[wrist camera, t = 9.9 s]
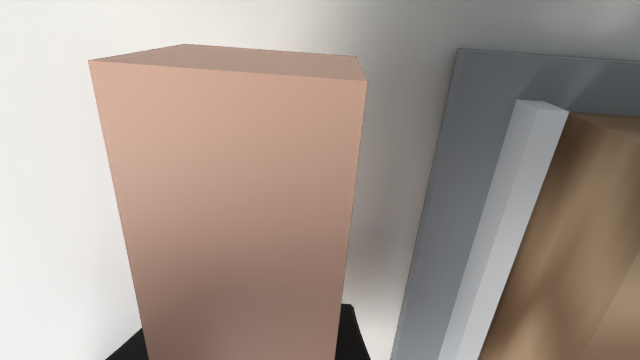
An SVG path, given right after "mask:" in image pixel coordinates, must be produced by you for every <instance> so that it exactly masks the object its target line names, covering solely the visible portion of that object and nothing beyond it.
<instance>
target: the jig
mask: <svg viewBox="0 0 640 360" xmlns="http://www.w3.org/2000/svg"><path fill="white" fill-rule="evenodd" d="M569 111H571V112H585V113H598V114H612V115H626V116H639V117H640V62H635V61H621V60H607V59H594V58H580V57H566V56H552V55H538V54H524V53H510V52H497V51H483V50H469V49H458V50H457V55H456V59H455V64H454V69H453V73H452V78H451V82H450V87H449V92H448V96H447V101H446V105H445V110H444V115H443V119H442V124H441V128H440V133H439V138H438V142H437V147H436V151H435V156H434V161H433V165H432V170H431V174H430V179H429V184H428V188H427V193H426V197H425V202H424V207H423V211H422V216H421V220H420V225H419V230H418V234H417V239H416V243H415V248H414V253H413V257H412V262H411V266H410V271H409V276H408V280H407V285H406V289H405V294H404V299H403V303H402V308H401V312H400V317H399V321H398V326H397V331H396V335H395V340H394V344H393V349H392V354H391V358H390V360H477V359H478V357H479V354H480V351H481V348H482V346H483V343H484V340H485V338H486V335H487V332H488V330H489V327H490V324H491V321H492V319H493V316H494V313H495V311H496V308H497V305H498V303H499V300H500V297H501V295H502V292H503V289H504V286H505V284H506V281H507V278H508V276H509V273H510V270H511V268H512V265H513V262H514V259H515V257H516V254H517V251H518V249H519V246H520V243H521V241H522V238H523V235H524V233H525V230H526V227H527V224H528V222H529V219H530V216H531V214H532V211H533V208H534V206H535V203H536V200H537V198H538V195H539V192H540V189H541V187H542V184H543V181H544V179H545V176H546V173H547V171H548V168H549V165H550V162H551V160H552V157H553V154H554V152H555V149H556V146H557V144H558V141H559V138H560V136H561V133H562V130H563V127H564V125H565V122H566V119H567V117H568V114H569Z"/></svg>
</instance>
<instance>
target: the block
mask: <svg viewBox="0 0 640 360" xmlns="http://www.w3.org/2000/svg"><path fill="white" fill-rule="evenodd" d="M88 63H89V68H90V73H91V78H92V82H93V87H94V92H95V97H96V102H97V107H98V112H99V117H100V122H101V127H102V132H103V136H104V141H105V146H106V151H107V156H108V161H109V166H110V171H111V176H112V181H113V185H114V190H115V195H116V200H117V205H118V210H119V215H120V220H121V225H122V230H123V235H124V239H125V244H126V249H127V254H128V259H129V264H130V269H131V274H132V279H133V284H134V289H135V293H136V298H137V303H138V308H139V313H140V318H141V323H142V328H143V333H144V338H145V342H146V347H147V352H148V357H149V360H335V351H336V343H337V335H338V326H339V318H340V309H341V301H342V293H343V284H344V276H345V268H346V259H347V251H348V242H349V234H350V226H351V217H352V209H353V200H354V192H355V184H356V175H357V167H358V159H359V150H360V142H361V133H362V125H363V117H364V108H365V100H366V92H367V83H368V81H367V79H366V77H365V74H364V72H363V70H362V68H361V66H360V64H359V61H358V59H357V57H356V56H343V55H330V54H316V53H303V52H289V51H275V50H262V49H248V48H234V47H221V46H207V45H193V44H181V45H176V46H170V47H164V48H158V49H152V50H146V51H141V52H135V53H129V54H123V55H117V56H111V57H106V58H100V59H94V60H88Z"/></svg>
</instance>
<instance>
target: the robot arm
mask: <svg viewBox="0 0 640 360" xmlns="http://www.w3.org/2000/svg"><path fill="white" fill-rule="evenodd" d="M106 360H149V357H148V352H147V347H146V342H145V338H144V333H143V328H141V329H140V330H139V331H138V332H137V333H135V334H134V335H133V336H132V337H131V338H130V339H129V340H128V341H127V342H125V343H124V344H123V345H122V346H121V347H120V348H119V349H117V350H116V351H115V352H114V353H113V354H112V355H110V356H109V357H108V358H107V359H106ZM335 360H371V359H370V356H369V354H368V352H367V349H366V346H365V344H364V341H363V338H362V335H361V333H360V330H359V326H358V323H357V320H356V316H355V312H354V307H353V306H352V305H351V304H341V309H340V318H339V326H338V335H337V343H336V351H335Z"/></svg>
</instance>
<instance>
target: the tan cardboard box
mask: <svg viewBox="0 0 640 360" xmlns="http://www.w3.org/2000/svg"><path fill="white" fill-rule="evenodd" d="M477 360H640V117H639V116H626V115H612V114H598V113H585V112H571V111H569V114H568V117H567V119H566V122H565V125H564V127H563V130H562V133H561V136H560V138H559V141H558V144H557V146H556V149H555V152H554V154H553V157H552V160H551V162H550V165H549V168H548V171H547V173H546V176H545V179H544V181H543V184H542V187H541V189H540V192H539V195H538V198H537V200H536V203H535V206H534V208H533V211H532V214H531V216H530V219H529V222H528V224H527V227H526V230H525V233H524V235H523V238H522V241H521V243H520V246H519V249H518V251H517V254H516V257H515V259H514V262H513V265H512V268H511V270H510V273H509V276H508V278H507V281H506V284H505V286H504V289H503V292H502V295H501V297H500V300H499V303H498V305H497V308H496V311H495V313H494V316H493V319H492V321H491V324H490V327H489V330H488V332H487V335H486V338H485V340H484V343H483V346H482V348H481V351H480V354H479V357H478V359H477Z"/></svg>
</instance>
